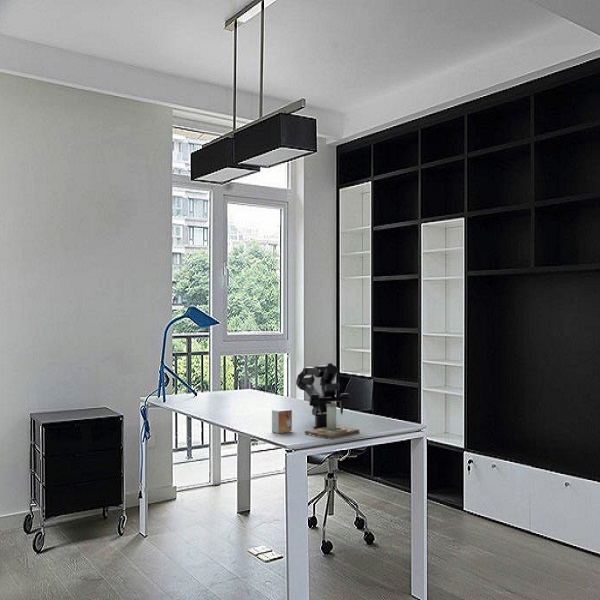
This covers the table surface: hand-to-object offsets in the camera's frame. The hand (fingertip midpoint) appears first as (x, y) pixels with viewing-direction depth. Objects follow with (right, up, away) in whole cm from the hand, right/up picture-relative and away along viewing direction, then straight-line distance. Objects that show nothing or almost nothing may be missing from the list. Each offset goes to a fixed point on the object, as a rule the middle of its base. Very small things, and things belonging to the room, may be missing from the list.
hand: (332, 414), depth 312 cm
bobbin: (0, -8, +1) cm, 8 cm away
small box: (-23, -10, +8) cm, 27 cm away
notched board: (0, -10, +4) cm, 10 cm away
